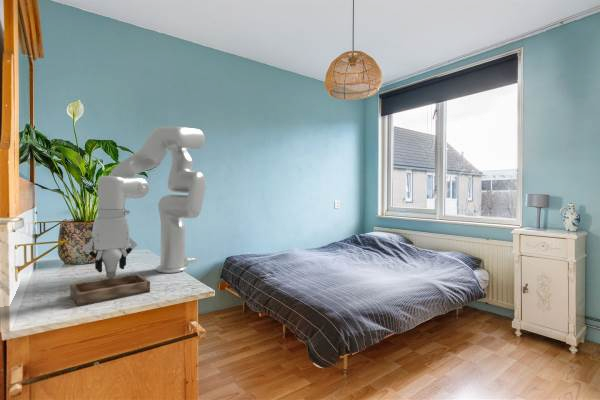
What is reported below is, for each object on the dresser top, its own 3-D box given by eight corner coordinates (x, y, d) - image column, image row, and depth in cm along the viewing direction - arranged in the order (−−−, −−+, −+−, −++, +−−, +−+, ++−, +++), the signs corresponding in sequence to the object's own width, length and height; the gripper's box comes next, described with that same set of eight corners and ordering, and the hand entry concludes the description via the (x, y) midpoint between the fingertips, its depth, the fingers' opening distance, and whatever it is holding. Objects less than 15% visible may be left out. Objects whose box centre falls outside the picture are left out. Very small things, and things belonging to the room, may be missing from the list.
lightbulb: (125, 276, 105) (126, 243, 104) (113, 281, 99) (113, 247, 98) (108, 275, 105) (109, 242, 105) (95, 280, 99) (95, 246, 99)
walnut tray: (138, 283, 114) (138, 273, 114) (149, 291, 105) (150, 281, 105) (70, 295, 100) (70, 284, 100) (77, 306, 91) (77, 294, 91)
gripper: (136, 212, 110) (135, 263, 111) (76, 214, 98) (76, 271, 99) (143, 214, 105) (143, 268, 105) (81, 216, 93) (81, 277, 93)
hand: (110, 269), depth 102 cm, fingers closed on lightbulb, 5 cm apart
